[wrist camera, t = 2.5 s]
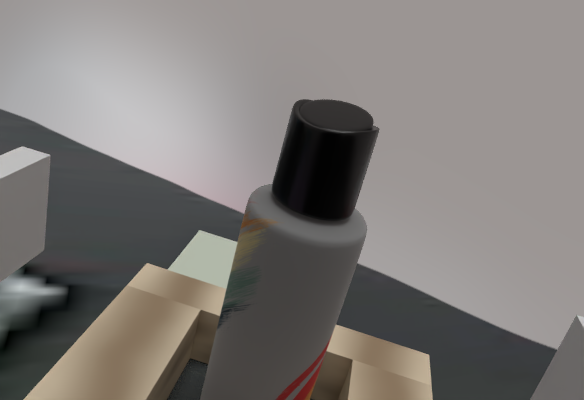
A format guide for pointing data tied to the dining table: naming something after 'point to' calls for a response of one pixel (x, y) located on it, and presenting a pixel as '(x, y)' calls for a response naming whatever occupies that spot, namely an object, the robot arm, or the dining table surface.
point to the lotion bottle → (294, 258)
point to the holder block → (208, 350)
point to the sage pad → (207, 259)
